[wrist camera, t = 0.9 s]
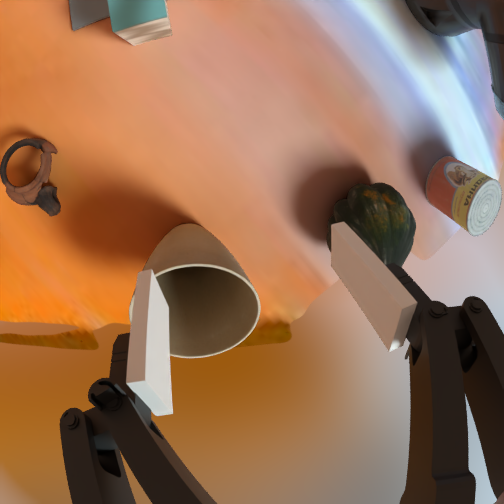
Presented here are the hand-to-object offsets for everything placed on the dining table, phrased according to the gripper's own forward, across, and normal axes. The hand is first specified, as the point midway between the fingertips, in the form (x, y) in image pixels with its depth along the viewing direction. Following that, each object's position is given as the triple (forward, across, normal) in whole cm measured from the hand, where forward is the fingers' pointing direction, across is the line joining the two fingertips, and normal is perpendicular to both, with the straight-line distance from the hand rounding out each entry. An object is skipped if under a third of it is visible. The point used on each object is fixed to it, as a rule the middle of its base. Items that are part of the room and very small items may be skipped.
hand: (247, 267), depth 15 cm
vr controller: (+28, +24, -4) cm, 37 cm away
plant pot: (+28, +6, +14) cm, 32 cm away
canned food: (+28, -44, +13) cm, 54 cm away
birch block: (+28, +4, -19) cm, 34 cm away
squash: (+28, -22, +16) cm, 39 cm away
